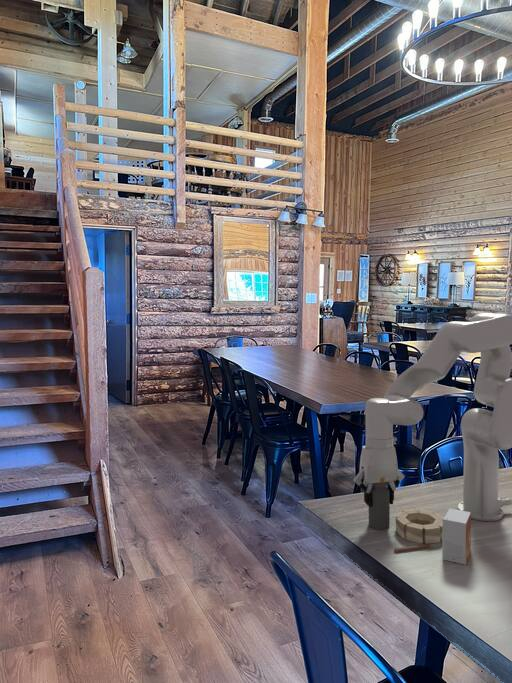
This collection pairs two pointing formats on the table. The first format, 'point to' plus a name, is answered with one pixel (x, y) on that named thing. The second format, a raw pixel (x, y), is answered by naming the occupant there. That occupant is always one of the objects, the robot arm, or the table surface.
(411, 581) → the table surface
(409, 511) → the segmented wooden ring
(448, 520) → the small box
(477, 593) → the table surface
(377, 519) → the bottle
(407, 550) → the brown wooden stick
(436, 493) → the table surface
